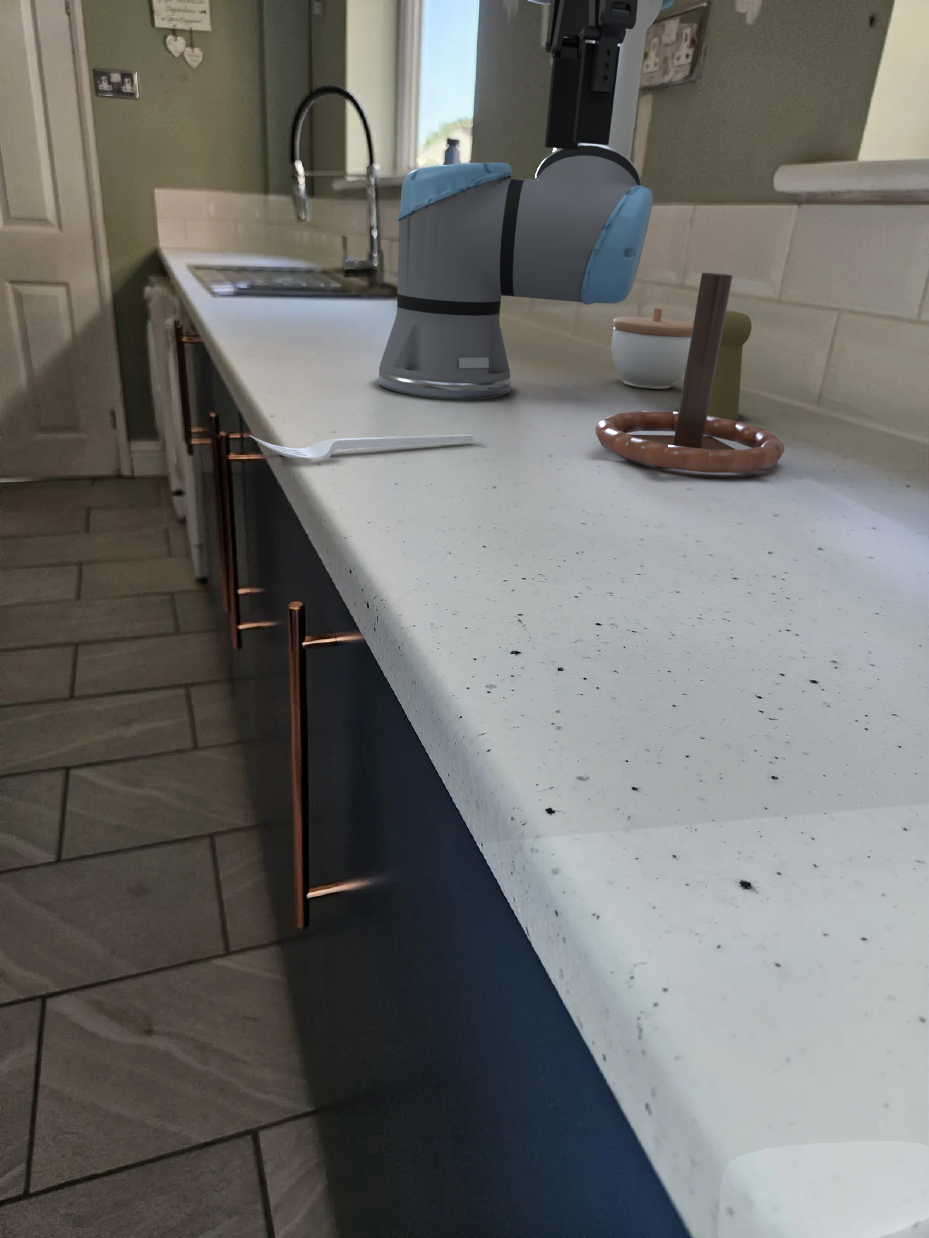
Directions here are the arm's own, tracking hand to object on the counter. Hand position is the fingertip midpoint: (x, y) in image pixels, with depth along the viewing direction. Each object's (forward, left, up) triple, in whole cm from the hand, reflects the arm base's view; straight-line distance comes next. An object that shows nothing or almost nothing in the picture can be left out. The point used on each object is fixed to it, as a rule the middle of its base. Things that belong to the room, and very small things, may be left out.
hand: (575, 145), depth 71 cm
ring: (+9, +10, -22) cm, 26 cm away
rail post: (+9, +10, -24) cm, 28 cm away
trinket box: (-30, +23, -24) cm, 45 cm away
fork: (+6, -17, -24) cm, 30 cm away
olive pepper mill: (-12, +23, -24) cm, 36 cm away
